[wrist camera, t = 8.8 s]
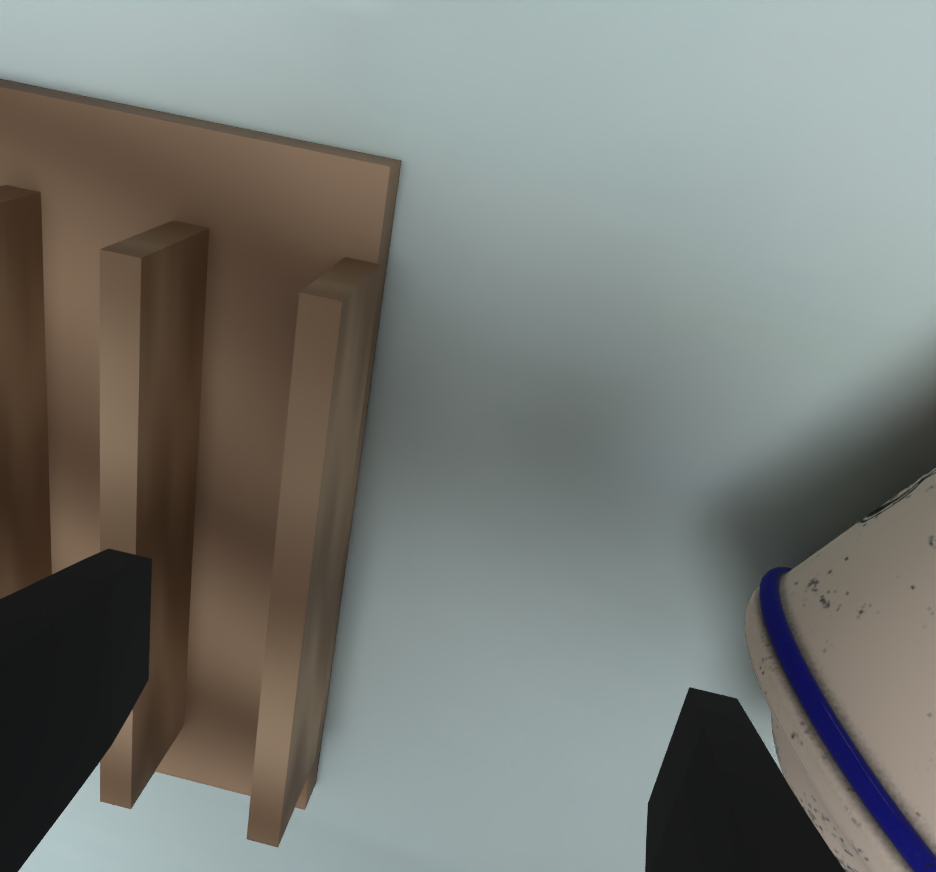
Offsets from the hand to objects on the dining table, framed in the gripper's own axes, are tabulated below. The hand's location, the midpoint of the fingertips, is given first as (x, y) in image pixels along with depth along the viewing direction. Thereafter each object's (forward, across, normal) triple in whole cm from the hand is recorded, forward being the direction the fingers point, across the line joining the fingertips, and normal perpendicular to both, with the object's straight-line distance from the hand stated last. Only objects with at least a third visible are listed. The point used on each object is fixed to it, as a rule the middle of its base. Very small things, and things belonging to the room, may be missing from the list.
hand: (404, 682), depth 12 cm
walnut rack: (+10, +9, +4) cm, 14 cm away
